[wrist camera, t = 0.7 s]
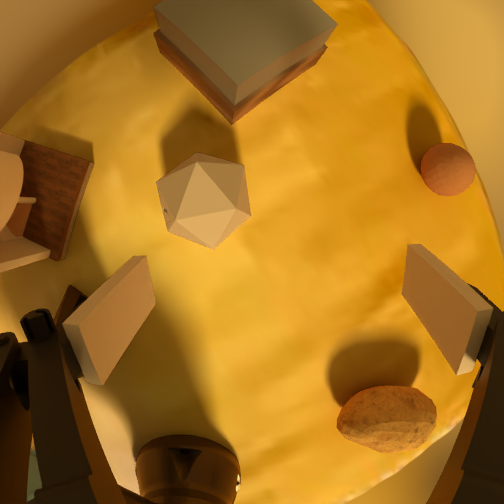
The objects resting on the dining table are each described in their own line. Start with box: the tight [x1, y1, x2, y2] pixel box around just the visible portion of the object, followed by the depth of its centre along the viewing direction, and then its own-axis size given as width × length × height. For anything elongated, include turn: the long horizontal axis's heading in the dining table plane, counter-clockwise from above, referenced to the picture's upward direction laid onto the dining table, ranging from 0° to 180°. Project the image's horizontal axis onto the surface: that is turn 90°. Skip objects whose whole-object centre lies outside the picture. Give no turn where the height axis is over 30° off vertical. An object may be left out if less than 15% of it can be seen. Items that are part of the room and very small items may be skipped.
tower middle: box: [153, 0, 338, 105], centre depth 24 cm, size 12×12×5 cm
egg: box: [421, 143, 476, 196], centre depth 31 cm, size 6×6×8 cm
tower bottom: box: [154, 29, 328, 125], centre depth 29 cm, size 13×13×5 cm
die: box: [156, 152, 251, 250], centre depth 29 cm, size 8×9×10 cm
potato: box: [337, 386, 437, 453], centre depth 34 cm, size 10×14×10 cm
